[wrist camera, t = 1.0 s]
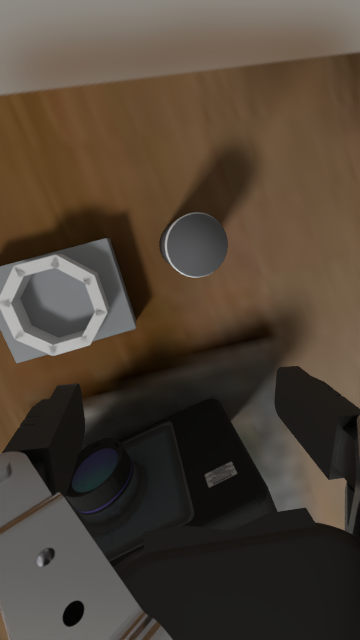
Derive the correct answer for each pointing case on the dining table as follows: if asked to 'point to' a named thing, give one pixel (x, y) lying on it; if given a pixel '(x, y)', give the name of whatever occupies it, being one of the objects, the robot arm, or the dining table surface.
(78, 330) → the mount block
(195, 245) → the lens
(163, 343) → the dining table surface
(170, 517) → the camera
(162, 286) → the dining table surface
